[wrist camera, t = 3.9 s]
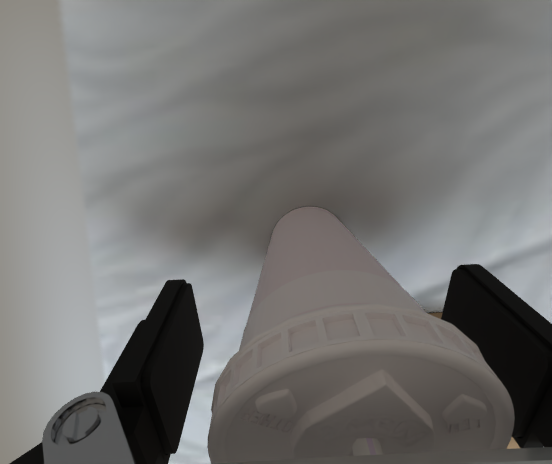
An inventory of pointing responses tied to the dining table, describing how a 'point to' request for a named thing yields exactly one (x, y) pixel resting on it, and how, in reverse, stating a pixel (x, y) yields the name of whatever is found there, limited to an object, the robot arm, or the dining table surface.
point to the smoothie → (348, 362)
